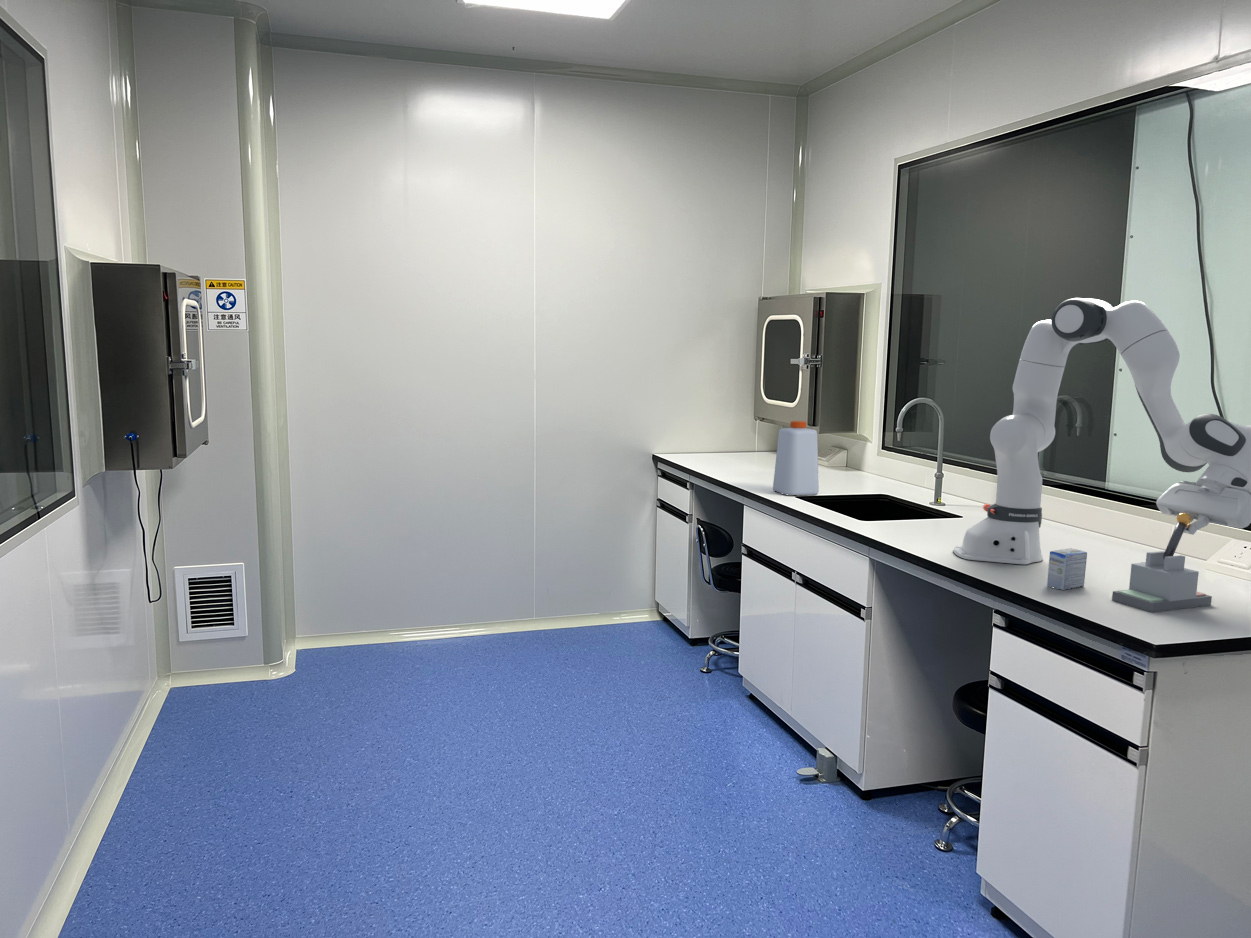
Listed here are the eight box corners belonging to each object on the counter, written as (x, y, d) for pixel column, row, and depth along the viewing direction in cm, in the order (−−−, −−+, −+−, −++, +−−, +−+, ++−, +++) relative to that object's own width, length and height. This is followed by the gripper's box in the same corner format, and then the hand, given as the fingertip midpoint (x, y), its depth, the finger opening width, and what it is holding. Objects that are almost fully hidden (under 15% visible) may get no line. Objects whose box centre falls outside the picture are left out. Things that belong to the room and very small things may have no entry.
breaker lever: (1164, 561, 198) (1184, 514, 198) (1175, 564, 195) (1196, 516, 195) (1156, 557, 197) (1176, 509, 197) (1168, 559, 194) (1188, 511, 194)
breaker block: (1169, 593, 205) (1173, 547, 203) (1210, 605, 196) (1216, 556, 194) (1111, 599, 198) (1116, 552, 197) (1152, 612, 189) (1157, 562, 188)
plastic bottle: (787, 497, 334) (790, 423, 330) (768, 490, 348) (771, 420, 344) (822, 495, 339) (826, 422, 335) (802, 489, 353) (805, 419, 349)
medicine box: (1067, 582, 213) (1070, 547, 212) (1084, 587, 209) (1087, 551, 208) (1046, 586, 210) (1049, 550, 208) (1063, 591, 206) (1066, 554, 205)
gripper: (1171, 471, 208) (1137, 514, 205) (1260, 483, 189) (1223, 531, 186) (1183, 489, 210) (1149, 531, 208) (1271, 503, 191) (1235, 550, 189)
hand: (1185, 531), depth 197 cm, fingers closed
